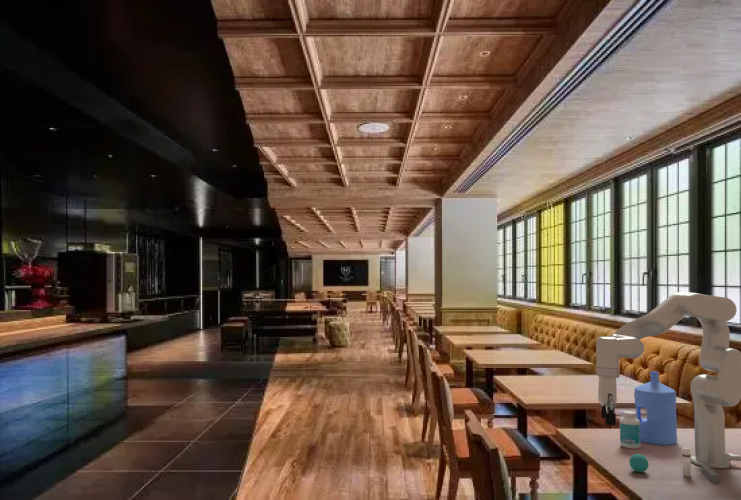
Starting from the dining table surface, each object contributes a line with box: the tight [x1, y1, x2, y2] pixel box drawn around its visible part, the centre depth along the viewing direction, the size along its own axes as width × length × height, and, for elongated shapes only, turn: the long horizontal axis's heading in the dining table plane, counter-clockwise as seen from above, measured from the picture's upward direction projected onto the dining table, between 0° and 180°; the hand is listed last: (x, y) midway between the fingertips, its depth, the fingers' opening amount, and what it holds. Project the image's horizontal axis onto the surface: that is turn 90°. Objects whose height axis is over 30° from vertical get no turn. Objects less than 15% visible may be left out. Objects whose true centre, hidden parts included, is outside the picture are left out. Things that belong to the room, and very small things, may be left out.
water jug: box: [633, 370, 678, 446], centre depth 243 cm, size 16×16×28 cm
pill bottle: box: [619, 410, 641, 450], centre depth 233 cm, size 8×7×14 cm
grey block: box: [700, 464, 720, 484], centre depth 198 cm, size 2×12×2 cm, turn 166°
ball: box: [629, 453, 649, 473], centre depth 203 cm, size 6×6×6 cm
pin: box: [681, 447, 692, 478], centre depth 199 cm, size 2×2×9 cm
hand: (608, 421), depth 206 cm, fingers open, 9 cm apart
